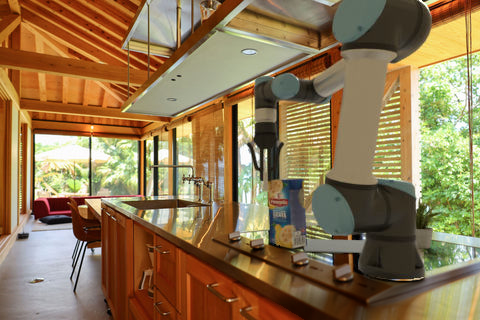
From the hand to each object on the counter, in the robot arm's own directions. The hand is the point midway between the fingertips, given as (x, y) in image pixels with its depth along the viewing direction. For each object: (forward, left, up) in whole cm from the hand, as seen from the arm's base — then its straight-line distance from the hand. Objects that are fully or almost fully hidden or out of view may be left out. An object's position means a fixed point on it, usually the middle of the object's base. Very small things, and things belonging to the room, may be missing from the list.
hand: (265, 191), depth 116 cm
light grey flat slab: (0, -24, -18) cm, 30 cm away
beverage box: (0, -8, -18) cm, 20 cm away
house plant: (+3, -51, -19) cm, 54 cm away
